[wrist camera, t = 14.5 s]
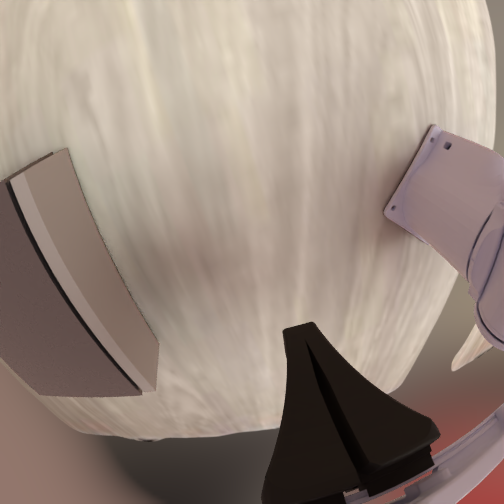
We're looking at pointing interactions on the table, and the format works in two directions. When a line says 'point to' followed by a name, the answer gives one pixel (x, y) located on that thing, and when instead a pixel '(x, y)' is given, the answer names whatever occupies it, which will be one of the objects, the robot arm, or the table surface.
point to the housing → (47, 319)
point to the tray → (85, 265)
